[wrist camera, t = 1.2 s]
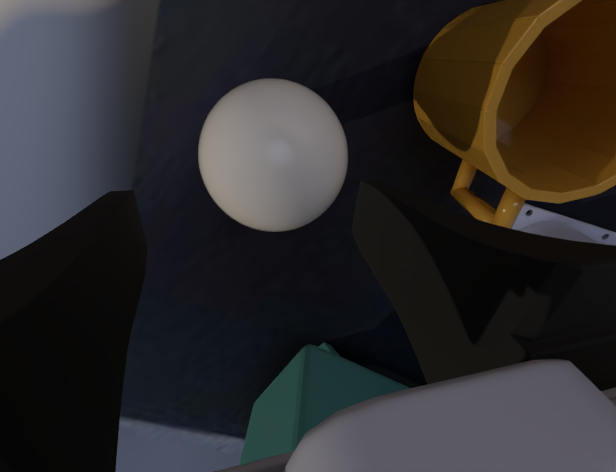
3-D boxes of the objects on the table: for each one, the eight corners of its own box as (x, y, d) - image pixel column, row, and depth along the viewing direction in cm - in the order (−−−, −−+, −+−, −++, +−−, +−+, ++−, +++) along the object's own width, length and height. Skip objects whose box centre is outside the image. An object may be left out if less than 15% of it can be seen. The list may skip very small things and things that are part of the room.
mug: (437, -9, 18) (546, -56, 10) (574, 15, 19) (774, -11, 11) (387, 180, 23) (434, 245, 15) (496, 193, 24) (594, 261, 16)
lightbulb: (267, 44, 19) (237, 36, 9) (351, 113, 21) (396, 165, 11) (213, 135, 21) (146, 202, 12) (293, 189, 23) (291, 284, 14)
